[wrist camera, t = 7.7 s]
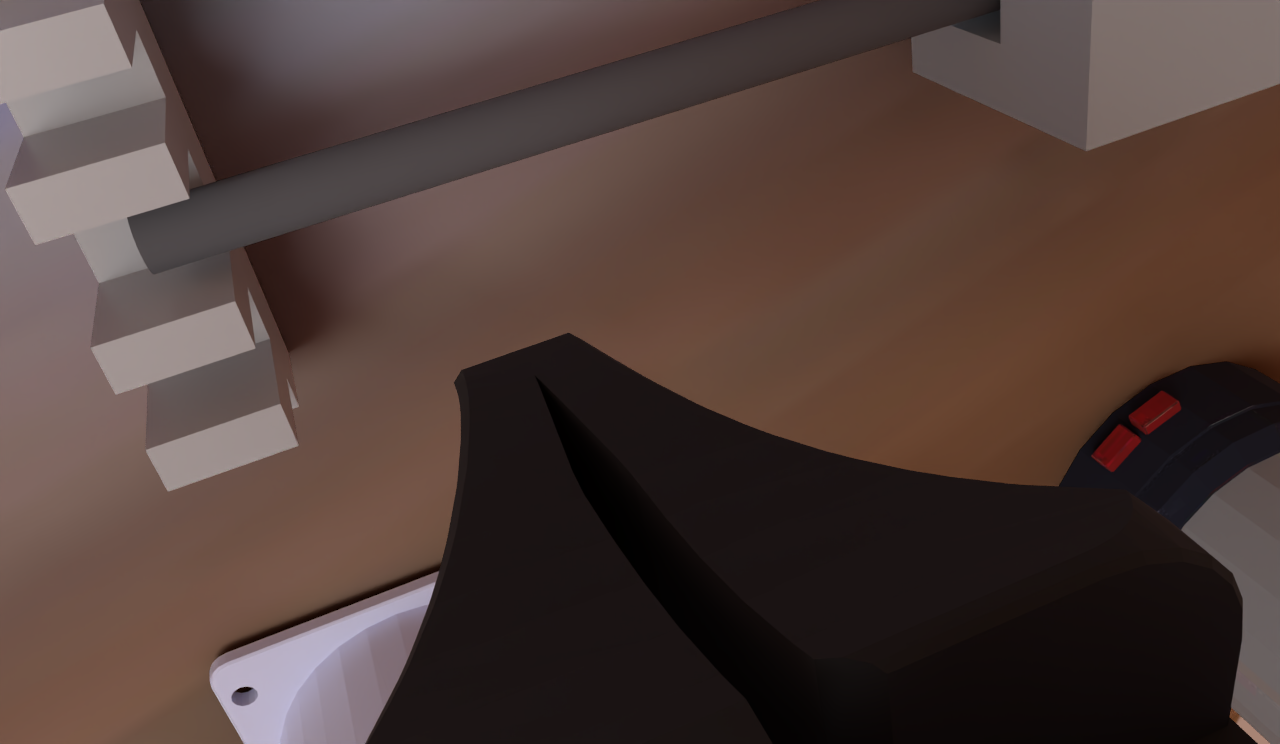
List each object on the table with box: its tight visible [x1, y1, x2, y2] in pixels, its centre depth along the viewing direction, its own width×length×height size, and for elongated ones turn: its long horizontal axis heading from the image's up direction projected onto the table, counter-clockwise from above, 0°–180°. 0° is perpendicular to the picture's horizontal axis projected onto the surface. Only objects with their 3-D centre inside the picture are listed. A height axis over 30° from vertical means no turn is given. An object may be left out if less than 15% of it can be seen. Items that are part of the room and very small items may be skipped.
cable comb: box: [0, 0, 299, 491], centre depth 17 cm, size 2×8×4 cm, turn 11°
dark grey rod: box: [127, 0, 1000, 274], centre depth 18 cm, size 21×4×4 cm, turn 100°
